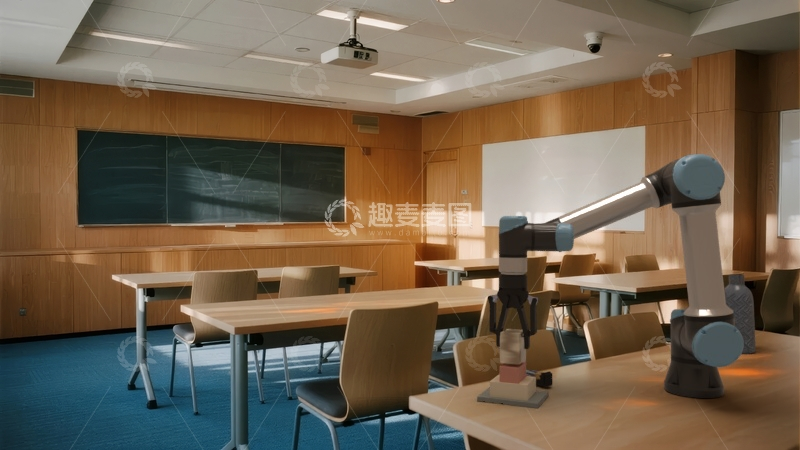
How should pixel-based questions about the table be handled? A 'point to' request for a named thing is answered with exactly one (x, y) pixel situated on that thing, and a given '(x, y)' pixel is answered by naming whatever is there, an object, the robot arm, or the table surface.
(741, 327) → the vase
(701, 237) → the robot arm
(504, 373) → the tiered block stack
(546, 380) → the brush
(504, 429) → the table surface
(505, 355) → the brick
